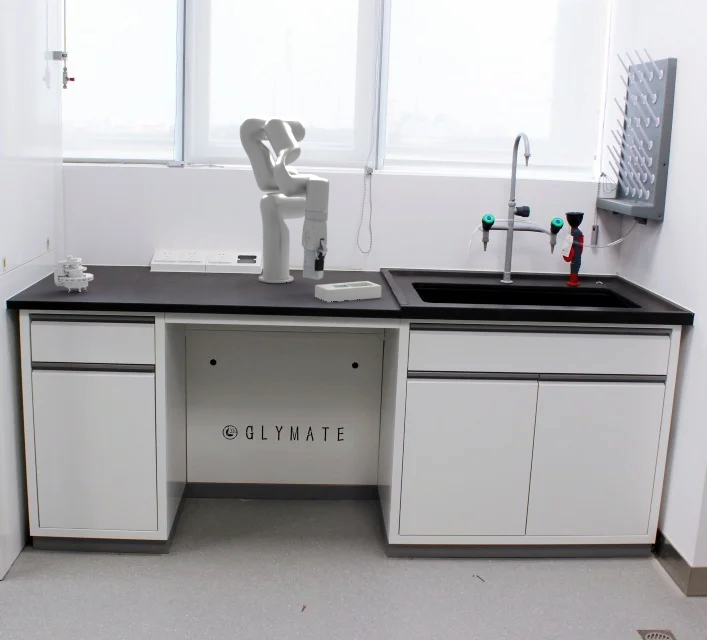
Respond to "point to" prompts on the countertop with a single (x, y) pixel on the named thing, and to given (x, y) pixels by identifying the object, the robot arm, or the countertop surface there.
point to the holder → (348, 291)
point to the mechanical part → (71, 274)
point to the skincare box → (310, 265)
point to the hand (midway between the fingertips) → (313, 267)
